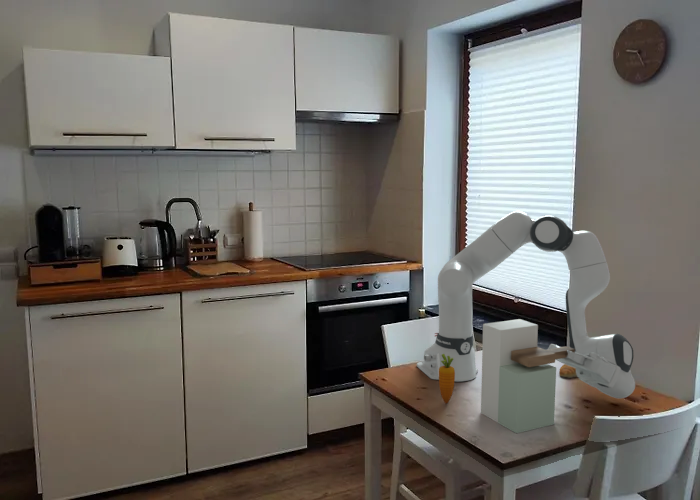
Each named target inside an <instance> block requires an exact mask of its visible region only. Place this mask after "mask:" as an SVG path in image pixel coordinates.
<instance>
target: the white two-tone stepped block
mask: <svg viewBox="0 0 700 500" xmlns="http://www.w3.org/2000/svg"><path fill="white" fill-rule="evenodd" d="M538 330H539V325H538V324H536V323H533V322H530V321H527V320H524V319H521V318H518V319H510V320H504V321H495V322H488V323H483V324H482V356H481V386H480V387H481V389H480V390H481V392H480V395H481V396H480V414H481V415H484V416H486V417H487V418H489V419H490V420H493V421H494V422H496V423H498V424H499V425H502V426H503V427H504V428H506V429H508V430H510V431H512V432H513V433H515V434H520V433H524V432H528V431H533V430H535V429H536V430H537V429H541V428H544V427H549V426H553V425H555V408H556V405H555V404H556V384H557V367H556V366H554V365H551V364H544V365H539V366H533V367H527V366H525V365H522V364H520V363H518V362H515V361H513V360H511V351H514V350H520V349H526V348H532V347H538V337H539V336H538V335H539V334H538V332H539V331H538Z"/></svg>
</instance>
